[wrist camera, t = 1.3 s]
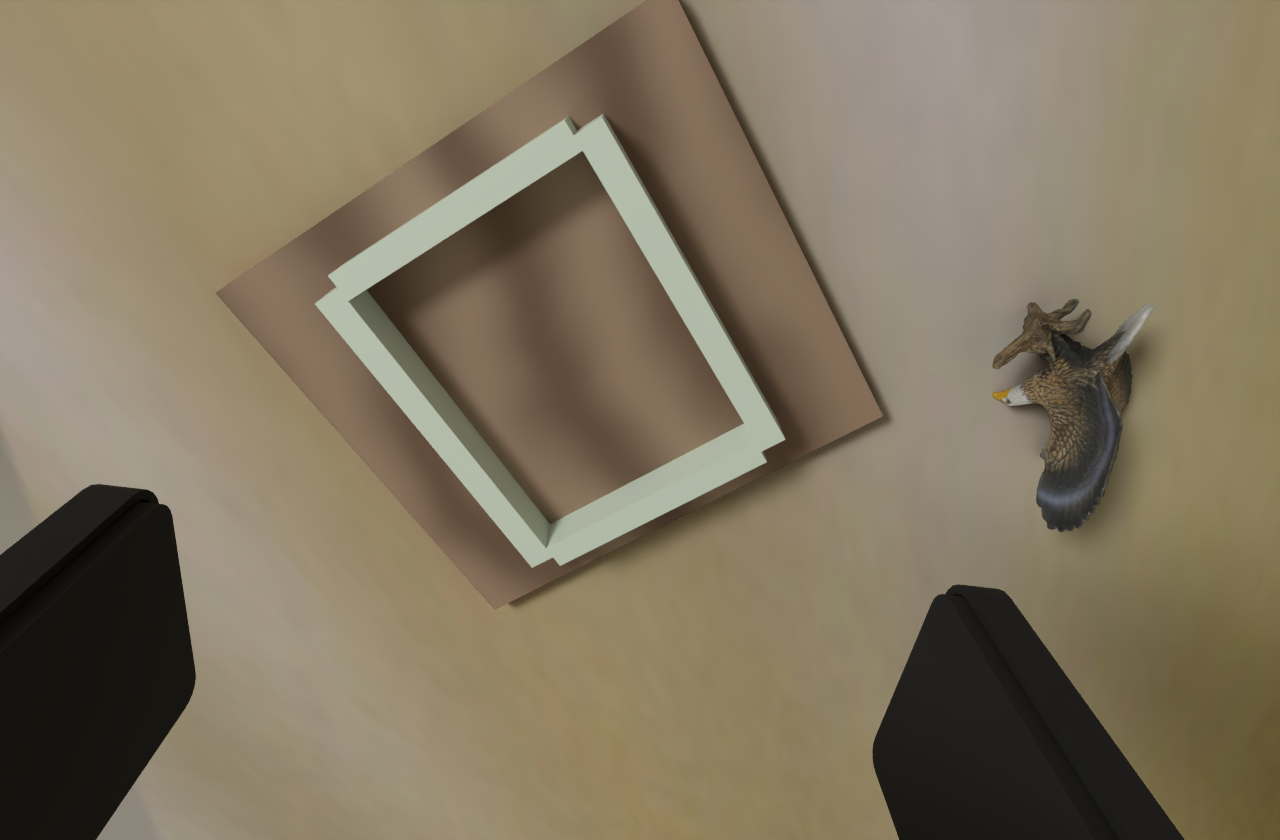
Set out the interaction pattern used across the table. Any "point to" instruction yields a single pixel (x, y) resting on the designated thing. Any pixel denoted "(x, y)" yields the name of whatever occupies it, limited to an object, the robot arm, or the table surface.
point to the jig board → (565, 315)
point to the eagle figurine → (1074, 407)
